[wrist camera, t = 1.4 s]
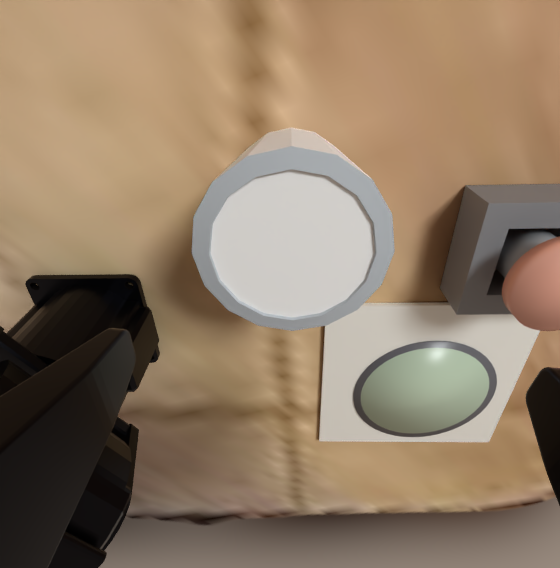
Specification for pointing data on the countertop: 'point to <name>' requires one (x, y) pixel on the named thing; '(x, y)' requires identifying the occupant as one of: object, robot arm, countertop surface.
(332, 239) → the shot glass
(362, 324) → the white square board
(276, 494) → the countertop surface
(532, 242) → the button
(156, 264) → the countertop surface
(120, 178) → the countertop surface
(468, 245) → the button housing
